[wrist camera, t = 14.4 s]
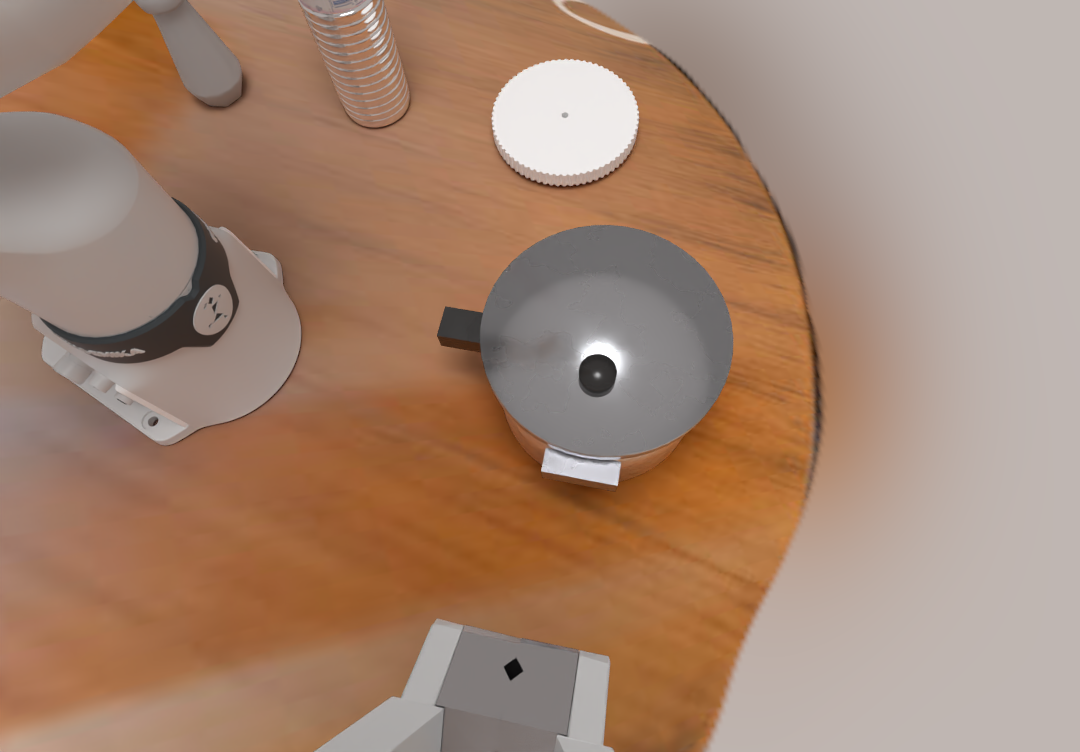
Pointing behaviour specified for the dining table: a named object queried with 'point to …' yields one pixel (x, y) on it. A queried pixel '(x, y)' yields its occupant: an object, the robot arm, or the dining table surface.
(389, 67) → the water bottle
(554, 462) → the cooker pot
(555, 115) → the plastic lid
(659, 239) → the cooker lid
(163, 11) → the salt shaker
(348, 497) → the dining table surface
